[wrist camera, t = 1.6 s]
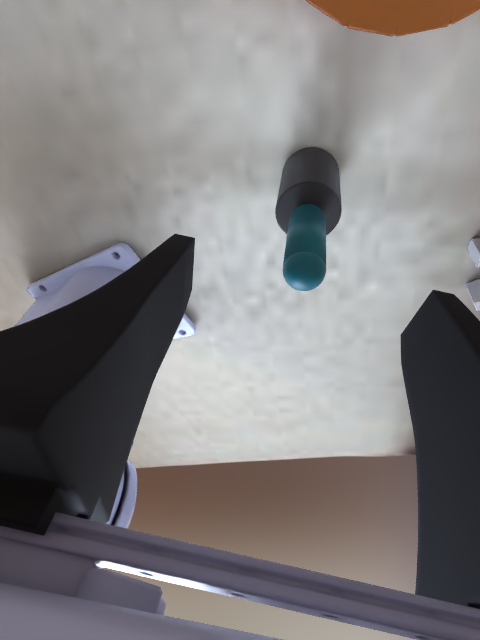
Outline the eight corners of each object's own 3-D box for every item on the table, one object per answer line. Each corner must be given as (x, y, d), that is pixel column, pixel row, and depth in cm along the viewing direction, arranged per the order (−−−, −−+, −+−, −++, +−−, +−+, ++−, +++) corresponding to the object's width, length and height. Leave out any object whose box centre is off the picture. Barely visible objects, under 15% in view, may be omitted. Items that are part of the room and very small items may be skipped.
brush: (294, 209, 18) (282, 320, 13) (273, 161, 17) (248, 264, 11) (346, 188, 17) (356, 301, 12) (327, 136, 16) (330, 236, 10)
